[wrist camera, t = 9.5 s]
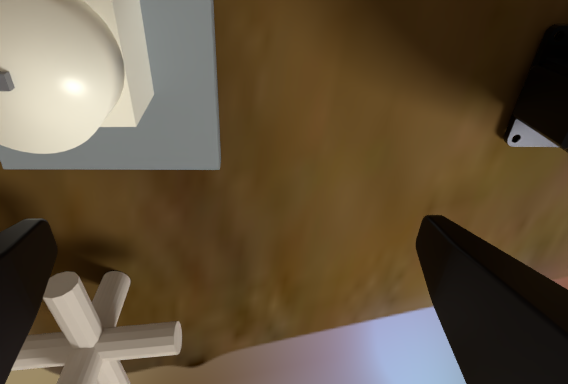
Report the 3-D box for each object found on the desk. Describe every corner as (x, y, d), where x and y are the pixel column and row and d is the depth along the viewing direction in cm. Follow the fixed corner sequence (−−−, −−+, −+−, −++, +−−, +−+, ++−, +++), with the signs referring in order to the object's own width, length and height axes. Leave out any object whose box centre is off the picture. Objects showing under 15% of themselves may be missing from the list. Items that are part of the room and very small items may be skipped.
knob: (135, -27, 15) (81, -11, 10) (154, 94, 18) (119, 156, 13) (2, -32, 15) (-127, -16, 10) (42, 94, 18) (-41, 159, 12)
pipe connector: (10, 230, 23) (-125, 392, 15) (174, 216, 24) (134, 367, 15) (68, 332, 29) (-5, 493, 20) (201, 320, 29) (182, 472, 21)
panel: (206, -143, 14) (189, -174, 11) (220, 159, 22) (214, 207, 18) (-125, -168, 13) (-278, -213, 9) (6, 157, 21) (-52, 209, 17)
